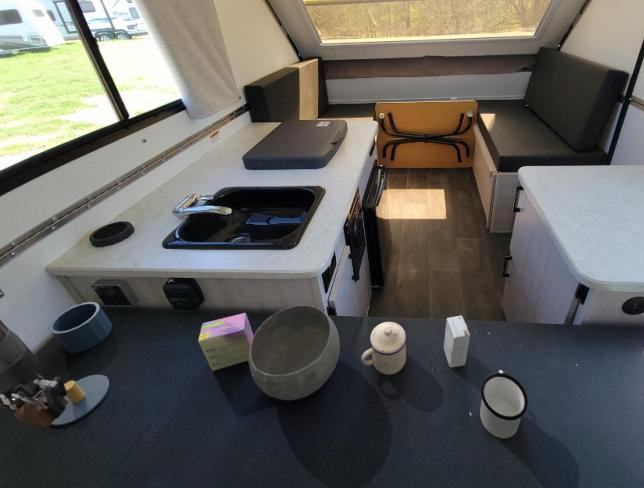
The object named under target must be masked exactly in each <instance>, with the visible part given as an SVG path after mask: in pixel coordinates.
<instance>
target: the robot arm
mask: <svg viewBox="0 0 644 488" xmlns="http://www.w3.org/2000/svg"><path fill="white" fill-rule="evenodd" d="M38 365H39V358H38V357H37V356H36V355H35V354H34V353H33V351H32V350H31V349H30V347H28V346H27V345H26V343H25V342H24V341H23V340H22V339H21V338H20V337H19V335H18V334H16V333H15V332H14V331H12V330H11V329H10V328H9V327H7V325H6V324H5V323H4V322H3V321H2V319H0V408H1V409H6V408H7V407H9V408H10V409H11V410H12V411H17V410H18V409H19V408H20V407H21V406H22V405H23V404H24V403H25V402H26V403H28V404H29V405H35V404H36V405H38V406H39V407H41V408H43V410H44V411H45V412H46V413H47V414H48V415H49V416H50V417H51V418H52V419H57V418H59V416H60V415H61V414H62V413H63V412H64V410H65V409H66V407H65V405H64V404H63V403H62V402H61V400H62V399H63V398H64V397H65V396H66V395H67V391H66V388H65V386H64V384H65V383H64V379H63V378H62V377H60V376H55V377H54V378H53V379H52V380H47V379H46V378H45V377H44V376H43V375H41V374H40V373H39V372H37V369H38ZM39 391H41V392H40V393H39V394H38V395H37V396H36V397H35V398H32V397H34V396H35V395H36V394H37V393H38V392H39ZM44 397H46V400H47V401H46V402H45V401H43V398H44Z"/></svg>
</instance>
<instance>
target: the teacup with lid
mask: <svg viewBox="0 0 644 488" xmlns="http://www.w3.org/2000/svg"><path fill="white" fill-rule="evenodd" d="M369 344H370V347H371V348H369V349H367V350H365V351H363V353H362V355H361V359H360V360H361V362H362V364H363V365H364V366H372V365H373V366H374V368H375V369H376V371H378V372H379V373H381V374H384V375H394V374H397V373H398V372H400V371H401V370H402V369H403V368H404V367H405V364H406V361H407V350H406V349H407V348H406V346H407V345H406V344H407V333H406V332H405V330H404V328H403V327H402V326H401V325H400V324H399V323H396V322H393V321H385V322H381V323H379V324H377V325H376V326H375V327H374V328H373V329H372V331H371V333H370V336H369ZM370 355H371V356H372V358H371V359H367V358H368V357H369V356H370ZM366 359H367V360H366Z"/></svg>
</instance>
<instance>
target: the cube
mask: <svg viewBox="0 0 644 488" xmlns="http://www.w3.org/2000/svg"><path fill="white" fill-rule="evenodd" d="M40 392H41V390H40V391H39V392H38V393H37V394H36V395H35V396H34V397H32V398H35V397H36V396H37V395H38V394H39V393H40ZM43 401H45V402H46V401H47V400H46V397H44V398H43ZM61 402H62V403H63V404H64V405H65V407H66V405H67V404H68V401H67V400H66V399H65V398H63V399H62V400H61ZM12 415H13V416H14V417H15V418H16V419H17V420H18V421H19V422H21V423H22V424H23V425H24V426H25V427H26V428H46V427H49V428H50V427H51V426H52V425H51V423H52V422H53V421H54V420H55V419H52V418H51V417H50V416H49V415H48V414H47V413H46V412H45V411H44V410H43V408H41V407H39V406H38V405H36V404H35V405H29V404H28V403H26V402H25V403H24V404H23V405H22V406H21V407H20V408H19V409H18V410H15V412H14V413H13V414H12Z"/></svg>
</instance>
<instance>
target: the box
mask: <svg viewBox="0 0 644 488" xmlns="http://www.w3.org/2000/svg"><path fill="white" fill-rule="evenodd" d="M254 335H255V334H254V333H253V330H252V327H251V324H250V321H249V318H248V315H247V313H246V312H243V313H239V314H235V315H231V316H226V317H223V318H218V319H215V320H211V321H206V322H202V324H201V327H200V332H199V337H198V340H197V342H198V344H199V347H200V349H201V351H202V353H203V355H204V358H205V359H206V362H207V363H208V366H209V368H210V369H211V371H212V372H214V371H217V370H221V369H224V368H228V367H231V366H234V365H238V364H241V363H245V362H249V350H250V345H251V342H252V339H253V337H254Z"/></svg>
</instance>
